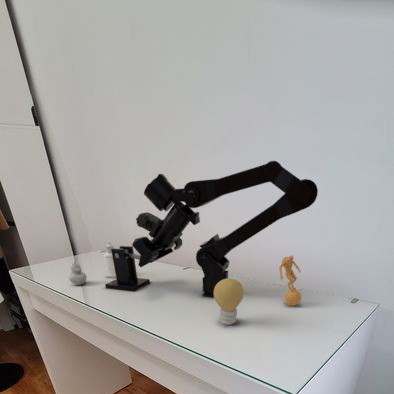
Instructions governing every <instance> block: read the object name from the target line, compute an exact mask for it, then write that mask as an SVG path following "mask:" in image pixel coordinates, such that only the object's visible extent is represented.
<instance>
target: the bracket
mask: <svg viewBox="0 0 394 394" xmlns="http://www.w3.org/2000/svg"><path fill="white" fill-rule="evenodd" d="M118 247H119V248H116V247H115V248H113V249H111V251H112V257H113V262H114V268H115V273H116V278H115V279H113V280H111V281H109V282H107V283H105V284H104V286H105V289H110V290H118V291H128V292H136V291H138V290H140V289H142V288H143V287H145V286H147V285H149V284H151V280H150V278H141V277H138V273H137V272H138V271H137V265H136V259H134V258H130V257H129V258H127V259H126V253H125V249H127V250H129V253H132V254H135V253H134V247H133V246H132V245H131V246H130V245H120V246H118ZM121 248H122V249H121Z"/></svg>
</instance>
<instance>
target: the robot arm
mask: <svg viewBox="0 0 394 394" xmlns="http://www.w3.org/2000/svg"><path fill="white" fill-rule="evenodd" d="M267 183H271V184H272V185H273V186H275V187H276V188H277V189H279V190H280V191H281V192H283V195H281V196H280V197H279V198H278V199H277V200H276V201H275V202H274V203H273V204H271V205H269V206H268V207H267V208H266V209H264V210H263V211H261V212H260V213H258V214H257V215H255V216H254V217H252V218H251V219H250V220H248V221H246V222H245V223H243V224H241V225H240V226H239V227H237V228H236V229H234V230H233V231H231V232H230V233H228V234H227V235H225V236H222V237H220V236H219V233H217V234H215V235H213V236H212V237H211V238H210V239H208V240H206V241H204V242H203V243H201V244H200V245H199V247H200V248H198V250H197V251H196V254H195V255H196V256H195V260H196V263H197V265H198V266H199V267H200V268H201V270H202V273H203V277H202V292H203V294H202V296H203V297H213V298H214V288H215V286H216V284H217V283H218V282H220V281H221V280H223V279H228V278H229V270H227V269H229V265H230V260H229V259H228V258H227V256H226V255H228V254H229V253H230V252H231V251H232V250H234V249H235V248H236V247H239V246H240V245H241V244H243V243H245V242H246V241H247V240H249V239H251V238H252V237H254V236H256V235H257V234H259V233H260V232H262V231H263V230H265V229H266V228H268V227H269V226H271V225H272V224H274V223H276V222H278V221H279V220H281V219H283V218H286V217H289V216H291V215H294V214H296V213H299V212H300V211H304V210H305V209H307V208H310V207H311V206H312V205H313V204H314V203H315V202H316V200H317V198H318V193H319V190H318V186H317V184H316V183H315V182H314V181H313V180H311V179H308V178H303V179H300V178H298V177H297V176H296V175H294V174H293V173H291V172H290V171H289V170H287V169H286V168H285V167H283V166H282V164H281V163H280V162H279V161H277V160H270V161H268V162H267V163H265V164H264V163H263V164H261V165H258V166H255V167H252V168H248V169H245V170H242V171H239V172H236V173H233V174H229V175H226V176H223V177H220V178H212V179H202V180H191V181H189V182H187V183H185V184H184V187H183V188H176V187H175V186H174V185H173V184H172V183H171V182H170V181H169V179H168V178H167V177H166V176H165V174H163V173H158V175H157V176H156V177H155V178H153V179H152V180H151V181H150V182H149V183H147V185H146V187H145V189H144V190H143V196H145V197H146V198H147V200H149V202H150V203H151V204H152V205H153V206H154V207H155V208H156V209H157V210H158V211H159V212H163V211H164V212H167V214H166V216H165V217H164V218H163V219H162V218H160V217H158V216H156V215H155V214H153V213H151V212H140V213H139V214H138V216H137V217H136V218H135V221H136V225H137V226H138V227H139V228H142V229H144V230H145V231H147V232H148V235H149V236H150V238H152V239H149V237H148V236H140V237H136V238H134V240H133V242H132V243H131V246H133V249H134V250H135V251H136V252H137V253H138V255H141V256H140V260H139V259H138V267H140V268H143V267H145V266H147V265H148V264H152V263H154V262H156V261H158V260H159V259H162V258H164V257H166V256H167V255H169V254H171V253H173V252H174V251H177V250H180V248H181V247H182V246H183V239H182V238H181V237H182V236H183V232H184V230H185V229H186V228H187V226H189V224H190V223H191V224H192V225H193V226H196V225H198V224H200V223H201V217H200V212H199V211H194V210H193V209H197V208H200V207H204V206H206V205H208V204H210V203H211V202H214V201H216V200H218V199H219V198H221V197H223V196H225V195H226V196H227V195H229V194H232V193H235V192H239V191H242V190H246V189H249V188H253V187H257V186H260V185H264V184H267Z"/></svg>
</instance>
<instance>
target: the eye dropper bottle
mask: <svg viewBox="0 0 394 394" xmlns="http://www.w3.org/2000/svg"><path fill="white" fill-rule="evenodd" d="M113 248H114V245H113V244H111V241H109V240H108V241H107V244H106V245H105V249H106V252H105V253H104V254H103V256H102V258H103V263H104V269H105V273H106V276H107V278H112V279H117V278H116V273H115V268H114V262H113V257H112V251H111V249H113Z"/></svg>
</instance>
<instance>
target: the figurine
mask: <svg viewBox="0 0 394 394" xmlns="http://www.w3.org/2000/svg"><path fill="white" fill-rule="evenodd" d="M293 265H294V267H295V268H296V269H297V270H298V273H299V274H301V273H302V272H301V269H300V268H299V266H298V265H297V264H296V262H295V260H294V256H293V255H292V254H291V255H290V256H285V257H283V258H282V260H281V264H280V265H279V267H278V269H279V278H280V280H284V278H286V279H287V280H288V281H287V282H286V284H287V288H288V291H287V292H286V293H285V294H284V302H285V303H286V304H287V305H289V306H291V307H293V306H297V305H298V304H299V303H301V301H302V293H301V291H299V290H298V289H297V288H296V287H295V286H294V283H295V282H296V281H297V280H298V277H297V276H296V274H295V272H294V270H293V269H292V268H293ZM282 268H283V269H284V270H285V274H284V276H285V277H284V276H283V270H282Z"/></svg>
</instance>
